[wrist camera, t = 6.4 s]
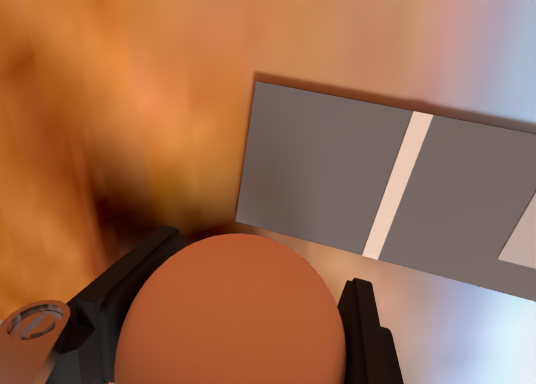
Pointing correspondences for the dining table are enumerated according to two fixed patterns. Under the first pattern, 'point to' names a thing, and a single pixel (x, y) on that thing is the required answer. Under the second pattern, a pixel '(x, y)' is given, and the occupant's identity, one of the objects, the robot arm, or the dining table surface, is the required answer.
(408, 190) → the mat
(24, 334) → the robot arm
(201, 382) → the ball
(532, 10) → the dining table surface
